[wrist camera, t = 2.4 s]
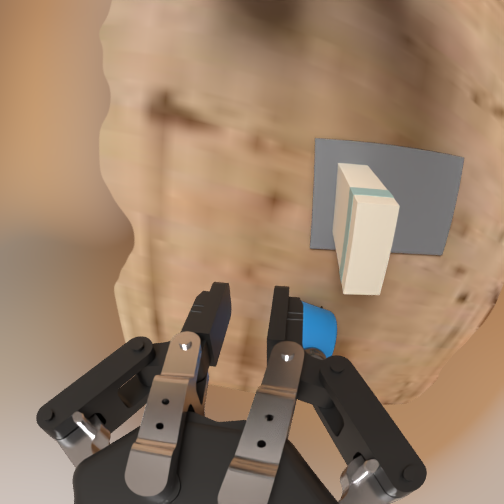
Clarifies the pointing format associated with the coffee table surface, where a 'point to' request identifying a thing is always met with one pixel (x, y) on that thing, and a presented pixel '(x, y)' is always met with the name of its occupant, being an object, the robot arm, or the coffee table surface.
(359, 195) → the box
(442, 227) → the mat
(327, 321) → the alarm clock
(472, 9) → the coffee table surface
